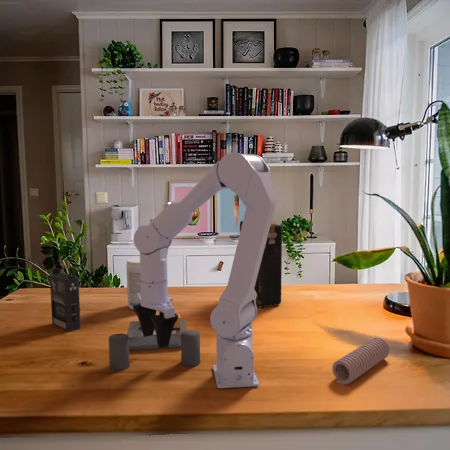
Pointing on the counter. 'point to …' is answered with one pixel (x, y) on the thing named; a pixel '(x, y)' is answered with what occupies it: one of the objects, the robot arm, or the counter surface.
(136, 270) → the supplement tub
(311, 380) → the counter surface
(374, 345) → the coil
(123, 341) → the post left
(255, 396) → the counter surface
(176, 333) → the panel
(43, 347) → the counter surface
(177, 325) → the block
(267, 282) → the black upright block
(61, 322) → the geiger counter
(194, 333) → the post right
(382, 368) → the counter surface
